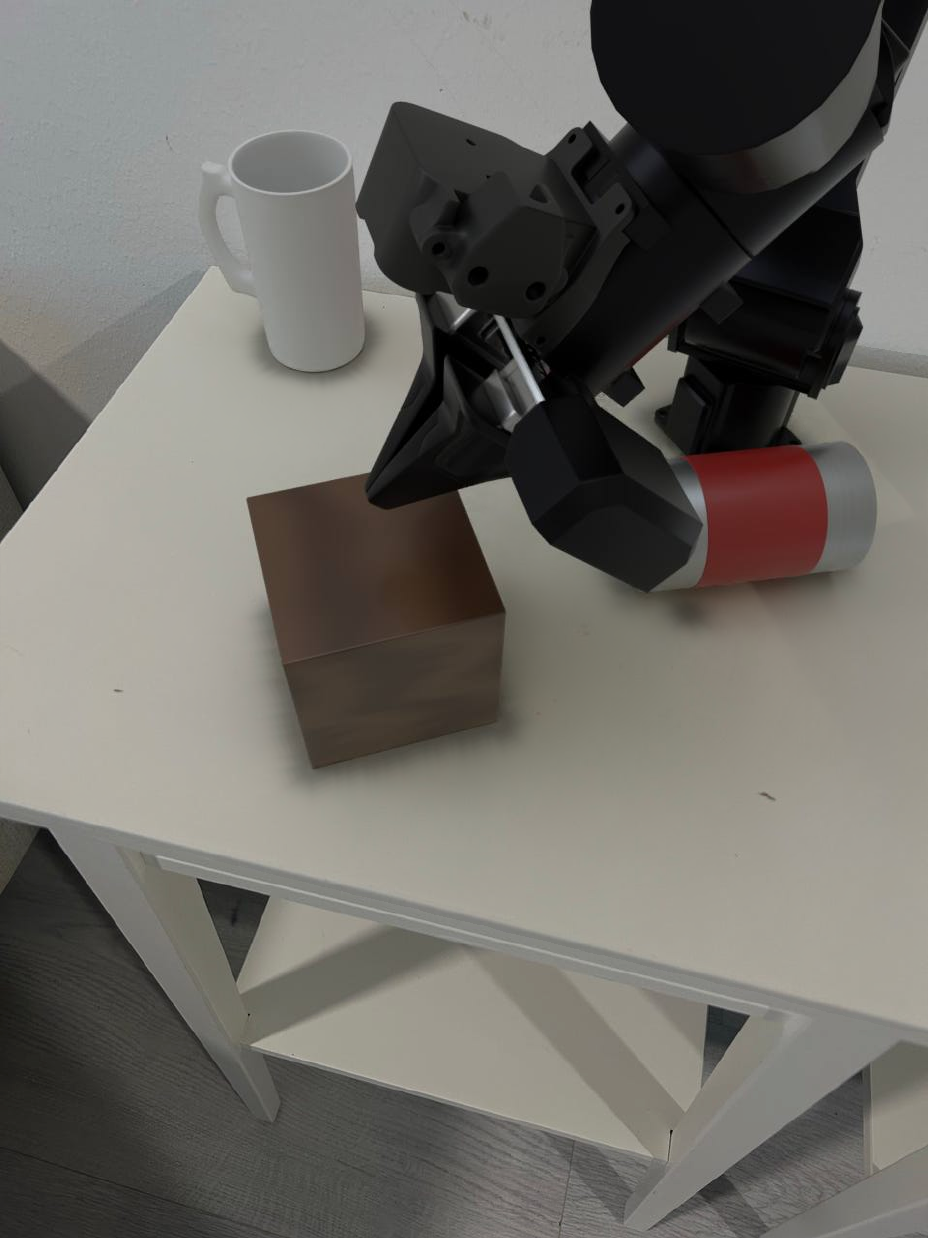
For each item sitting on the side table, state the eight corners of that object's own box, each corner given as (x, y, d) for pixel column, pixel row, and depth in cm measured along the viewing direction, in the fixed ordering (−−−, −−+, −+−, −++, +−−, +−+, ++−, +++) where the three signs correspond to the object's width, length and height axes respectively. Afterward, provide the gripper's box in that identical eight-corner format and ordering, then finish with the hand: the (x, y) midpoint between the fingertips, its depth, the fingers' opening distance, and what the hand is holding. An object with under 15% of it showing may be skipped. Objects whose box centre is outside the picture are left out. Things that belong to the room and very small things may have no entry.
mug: (384, 321, 61) (371, 140, 51) (345, 385, 57) (323, 204, 47) (247, 291, 63) (209, 110, 53) (201, 351, 59) (150, 169, 49)
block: (446, 578, 49) (445, 455, 41) (497, 721, 44) (507, 611, 36) (278, 616, 47) (245, 496, 40) (311, 769, 42) (281, 665, 35)
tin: (879, 443, 43) (654, 466, 42) (876, 581, 45) (659, 606, 44) (811, 436, 50) (614, 456, 49) (810, 557, 51) (620, 579, 50)
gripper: (437, -124, 28) (165, 255, 35) (685, 204, 18) (231, 644, 25) (634, 107, 36) (378, 379, 43) (887, 429, 26) (495, 715, 33)
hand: (374, 499), depth 36 cm, fingers closed
